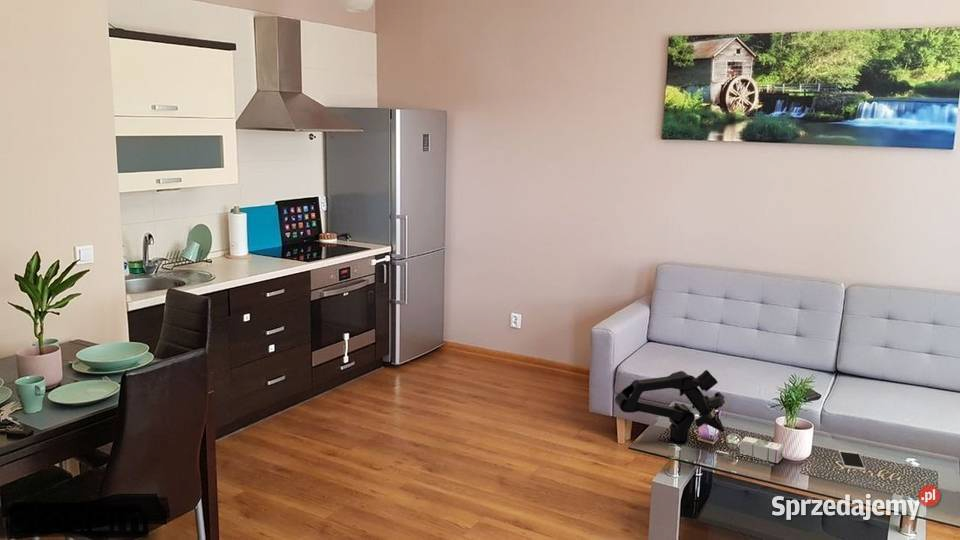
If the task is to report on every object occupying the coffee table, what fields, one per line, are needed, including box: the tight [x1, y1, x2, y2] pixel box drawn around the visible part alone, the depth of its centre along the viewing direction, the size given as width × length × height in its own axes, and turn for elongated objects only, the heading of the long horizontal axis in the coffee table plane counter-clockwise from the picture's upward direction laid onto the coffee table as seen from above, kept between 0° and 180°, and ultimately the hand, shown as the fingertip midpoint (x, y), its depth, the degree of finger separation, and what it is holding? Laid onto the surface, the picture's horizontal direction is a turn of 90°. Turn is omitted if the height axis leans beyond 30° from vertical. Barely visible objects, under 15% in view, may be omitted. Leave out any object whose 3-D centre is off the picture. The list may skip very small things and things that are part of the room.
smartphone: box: [838, 449, 866, 471], centre depth 287 cm, size 7×15×1 cm, turn 163°
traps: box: [721, 453, 736, 462], centre depth 294 cm, size 6×23×1 cm, turn 124°
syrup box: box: [739, 435, 784, 464], centre depth 289 cm, size 6×6×14 cm
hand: (723, 431), depth 297 cm, fingers closed
